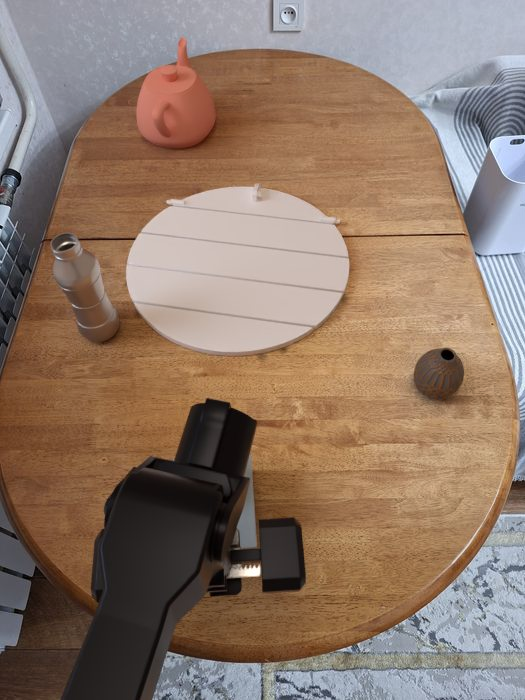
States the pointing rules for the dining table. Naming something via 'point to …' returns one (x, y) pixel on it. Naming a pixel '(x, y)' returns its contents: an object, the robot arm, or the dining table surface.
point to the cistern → (248, 514)
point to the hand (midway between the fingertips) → (206, 571)
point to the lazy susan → (237, 270)
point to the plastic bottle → (84, 288)
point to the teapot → (175, 105)
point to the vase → (439, 373)
